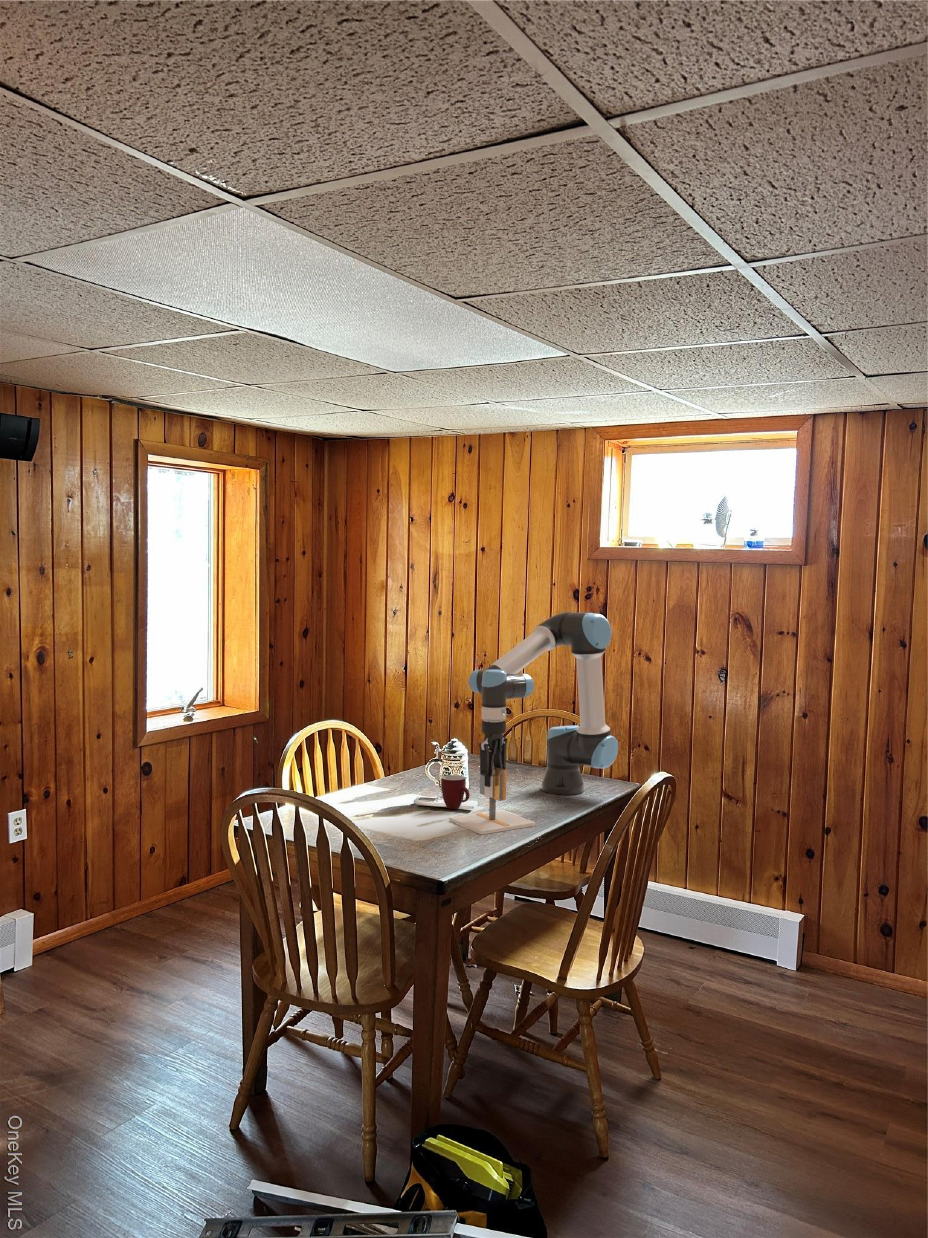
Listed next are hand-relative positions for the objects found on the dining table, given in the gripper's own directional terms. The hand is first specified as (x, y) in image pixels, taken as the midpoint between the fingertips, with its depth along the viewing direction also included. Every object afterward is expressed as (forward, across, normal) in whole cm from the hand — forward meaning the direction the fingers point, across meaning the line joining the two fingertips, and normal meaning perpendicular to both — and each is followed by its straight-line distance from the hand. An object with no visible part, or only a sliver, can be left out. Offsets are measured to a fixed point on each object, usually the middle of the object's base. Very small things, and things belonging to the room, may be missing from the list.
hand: (492, 795), depth 282 cm
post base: (+9, 0, 0) cm, 9 cm away
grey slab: (0, 0, 0) cm, 0 cm away
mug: (+9, +9, +19) cm, 23 cm away
